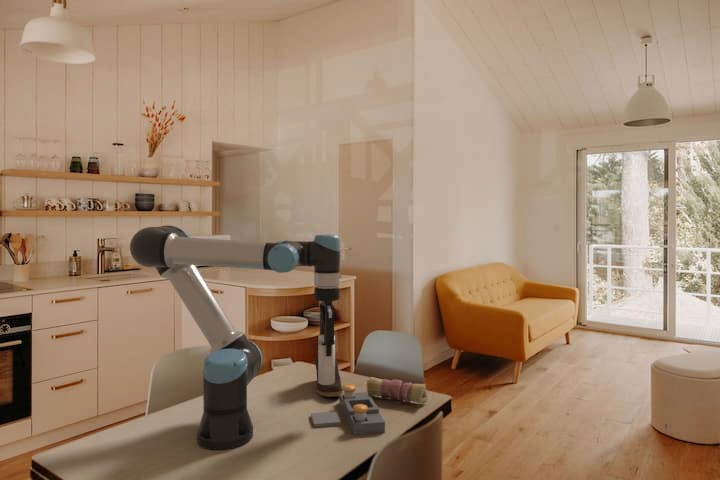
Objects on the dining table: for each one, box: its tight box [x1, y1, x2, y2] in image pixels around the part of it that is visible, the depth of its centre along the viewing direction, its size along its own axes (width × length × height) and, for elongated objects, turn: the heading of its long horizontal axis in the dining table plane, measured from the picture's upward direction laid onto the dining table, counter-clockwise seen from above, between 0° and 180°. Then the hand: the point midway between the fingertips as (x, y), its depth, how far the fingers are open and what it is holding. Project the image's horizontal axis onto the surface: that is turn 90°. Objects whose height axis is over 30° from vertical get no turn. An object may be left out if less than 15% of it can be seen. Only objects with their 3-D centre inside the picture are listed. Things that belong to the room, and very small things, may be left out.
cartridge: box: [317, 334, 336, 385], centre depth 149 cm, size 5×5×15 cm
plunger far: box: [342, 384, 357, 399], centre depth 161 cm, size 4×4×5 cm
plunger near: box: [353, 404, 368, 422], centre depth 145 cm, size 4×4×5 cm
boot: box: [315, 338, 344, 398], centre depth 177 cm, size 9×24×20 cm, turn 15°
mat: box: [310, 411, 342, 428], centre depth 150 cm, size 8×8×1 cm
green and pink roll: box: [366, 376, 429, 404], centre depth 168 cm, size 8×8×20 cm
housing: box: [339, 392, 386, 436], centre depth 154 cm, size 9×24×4 cm, turn 12°
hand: (326, 363), depth 149 cm, fingers closed on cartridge, 5 cm apart
